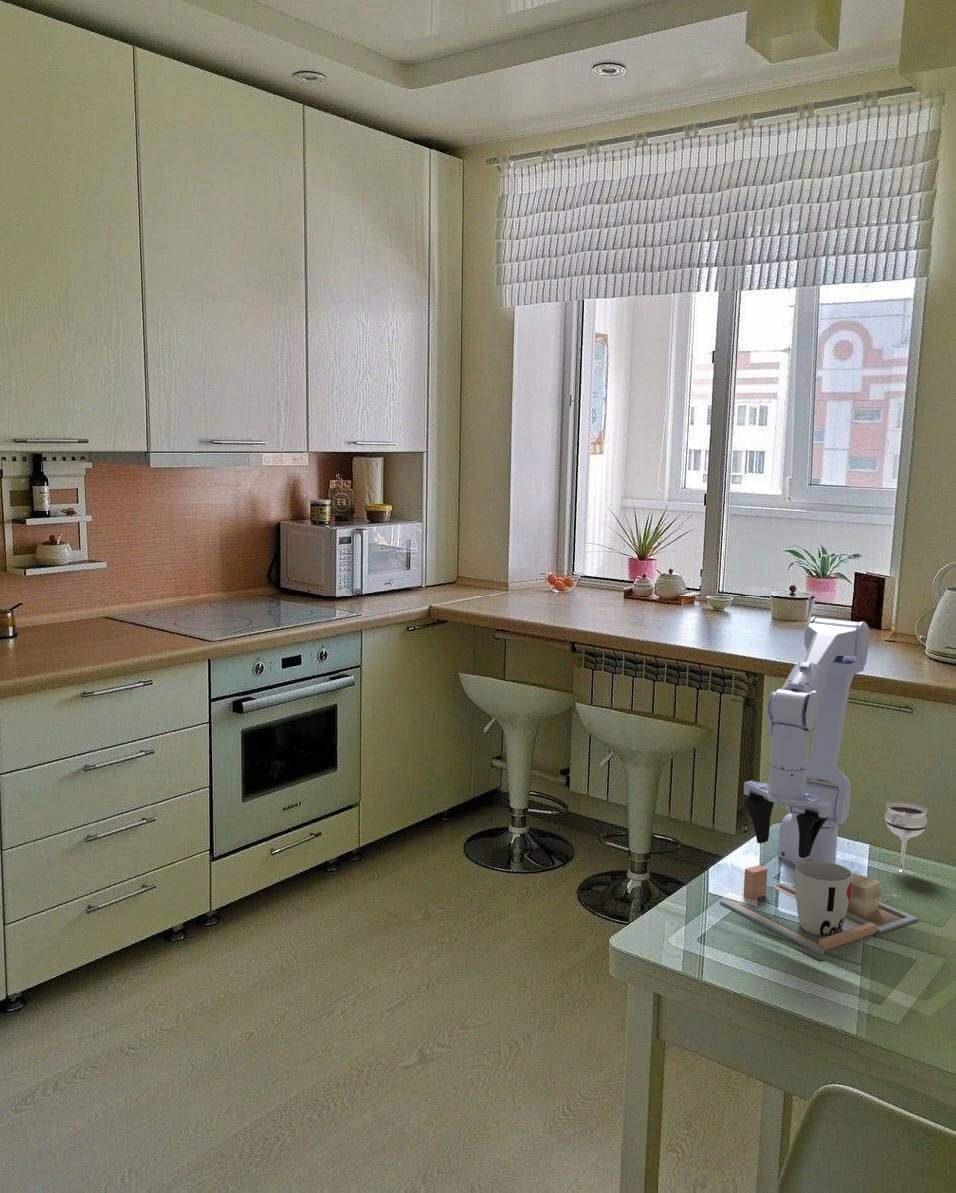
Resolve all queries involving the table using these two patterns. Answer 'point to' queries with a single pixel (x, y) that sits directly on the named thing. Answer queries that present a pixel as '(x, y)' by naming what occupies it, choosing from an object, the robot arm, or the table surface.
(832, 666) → the robot arm
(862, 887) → the beech cube
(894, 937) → the table surface
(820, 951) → the lane frame
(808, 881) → the cup
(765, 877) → the cup sled
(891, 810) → the wineglass
